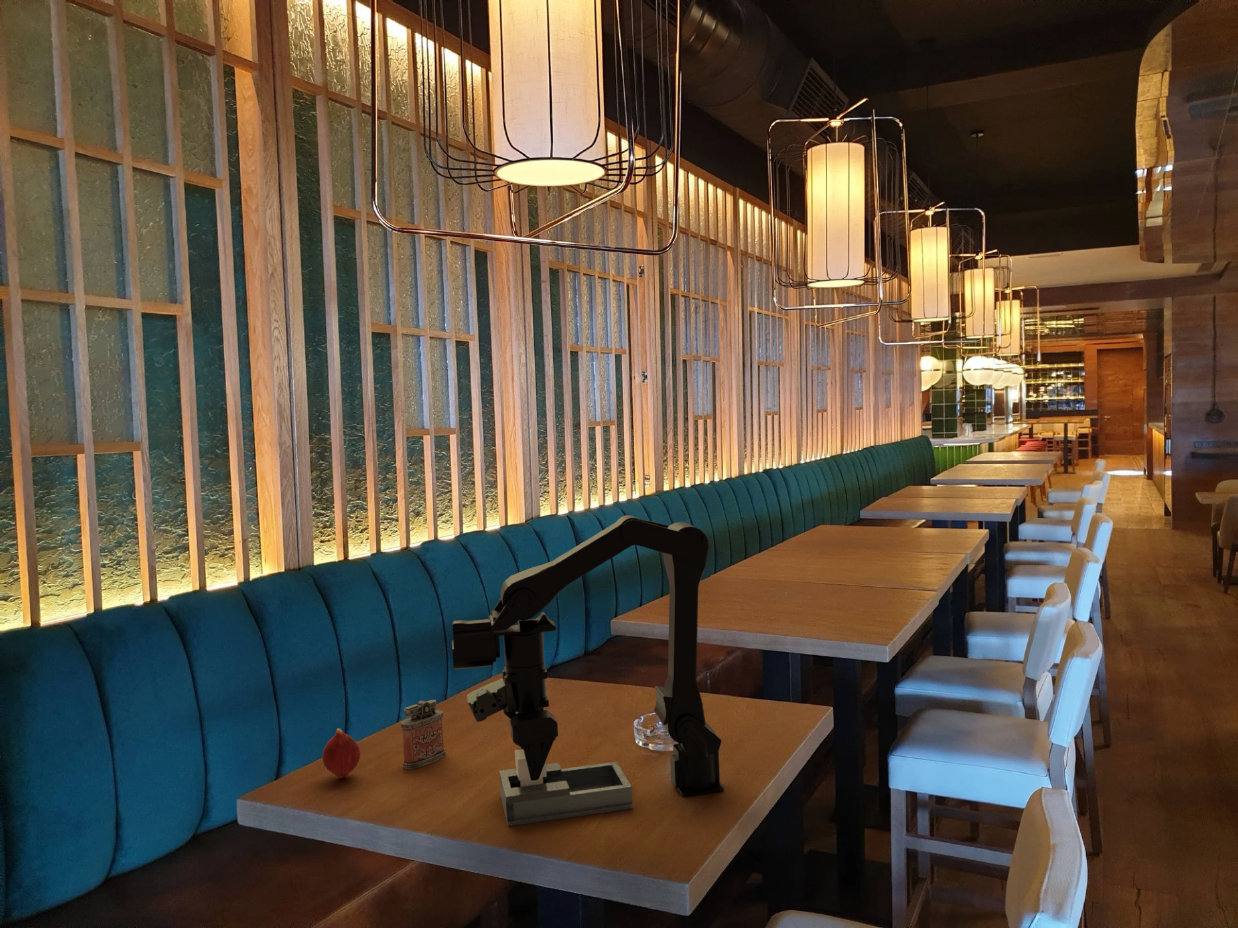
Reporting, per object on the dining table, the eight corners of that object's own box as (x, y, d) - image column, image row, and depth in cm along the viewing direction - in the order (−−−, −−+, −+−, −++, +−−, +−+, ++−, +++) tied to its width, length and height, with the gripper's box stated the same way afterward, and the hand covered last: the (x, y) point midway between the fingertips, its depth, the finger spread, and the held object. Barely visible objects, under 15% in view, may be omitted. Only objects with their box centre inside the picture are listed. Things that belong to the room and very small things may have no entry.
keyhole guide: (616, 779, 143) (615, 754, 143) (633, 808, 133) (631, 780, 132) (500, 794, 140) (499, 769, 139) (507, 826, 129) (506, 798, 129)
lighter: (437, 751, 159) (433, 694, 159) (449, 755, 157) (446, 697, 157) (398, 766, 153) (395, 707, 153) (411, 770, 151) (408, 710, 151)
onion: (368, 771, 151) (365, 723, 151) (348, 785, 146) (344, 736, 146) (337, 769, 153) (334, 721, 153) (316, 783, 148) (313, 733, 147)
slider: (550, 791, 139) (547, 743, 138) (555, 807, 133) (553, 757, 132) (510, 796, 137) (507, 748, 137) (514, 813, 132) (511, 763, 131)
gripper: (465, 652, 141) (470, 752, 142) (472, 686, 123) (479, 801, 124) (537, 645, 144) (542, 743, 145) (555, 677, 125) (561, 790, 126)
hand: (530, 767), depth 135 cm, fingers open, 9 cm apart
